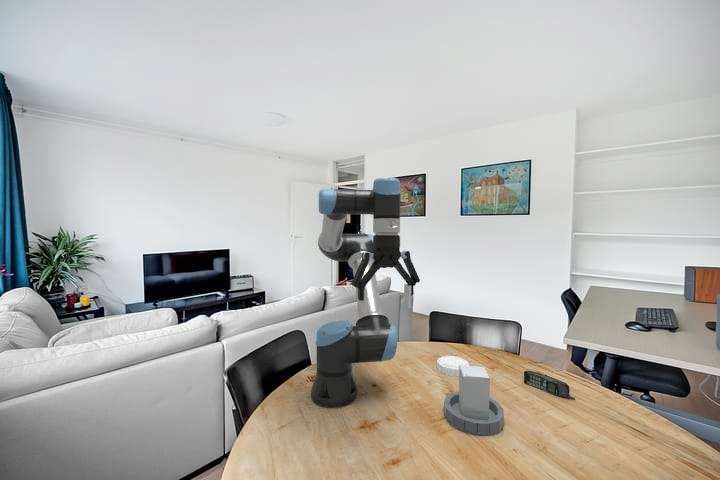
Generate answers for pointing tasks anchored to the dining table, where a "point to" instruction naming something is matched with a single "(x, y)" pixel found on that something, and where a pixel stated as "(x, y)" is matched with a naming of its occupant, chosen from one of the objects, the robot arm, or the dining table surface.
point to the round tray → (472, 425)
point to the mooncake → (450, 365)
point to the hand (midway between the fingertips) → (386, 309)
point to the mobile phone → (547, 384)
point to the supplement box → (474, 392)
